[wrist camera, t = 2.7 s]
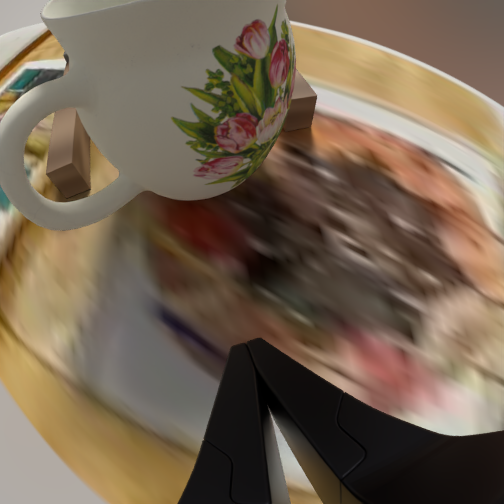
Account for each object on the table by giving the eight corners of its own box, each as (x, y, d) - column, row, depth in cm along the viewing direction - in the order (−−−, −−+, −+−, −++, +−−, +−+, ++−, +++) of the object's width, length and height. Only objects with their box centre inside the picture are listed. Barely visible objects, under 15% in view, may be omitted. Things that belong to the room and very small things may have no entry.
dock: (311, 126, 21) (319, 84, 17) (66, 198, 19) (38, 164, 15) (241, 29, 27) (240, -1, 24) (78, 74, 25) (66, 46, 21)
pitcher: (48, 223, 18) (-74, 80, 5) (218, 74, 24) (206, -72, 11) (153, 333, 15) (-68, 182, 3) (332, 128, 21) (374, -49, 8)
